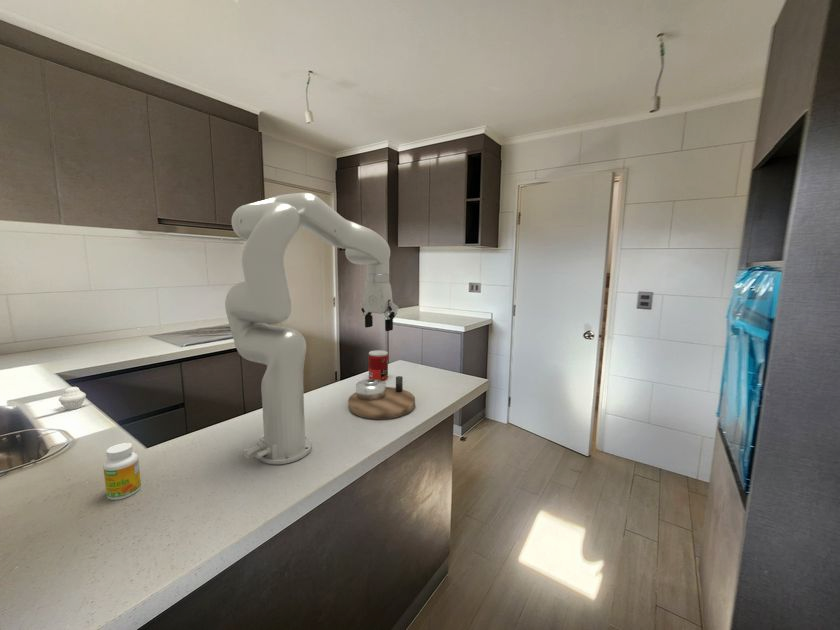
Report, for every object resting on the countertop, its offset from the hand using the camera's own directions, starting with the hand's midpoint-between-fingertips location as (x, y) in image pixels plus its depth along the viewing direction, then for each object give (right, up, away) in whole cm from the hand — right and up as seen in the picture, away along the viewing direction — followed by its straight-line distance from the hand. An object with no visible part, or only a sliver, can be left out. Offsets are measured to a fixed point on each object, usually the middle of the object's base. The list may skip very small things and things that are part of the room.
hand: (378, 328), depth 122 cm
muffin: (-96, -25, -10) cm, 100 cm away
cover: (-2, -23, -2) cm, 23 cm away
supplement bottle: (-46, -32, -50) cm, 75 cm away
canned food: (-3, -22, +23) cm, 32 cm away
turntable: (+2, -26, -5) cm, 26 cm away
